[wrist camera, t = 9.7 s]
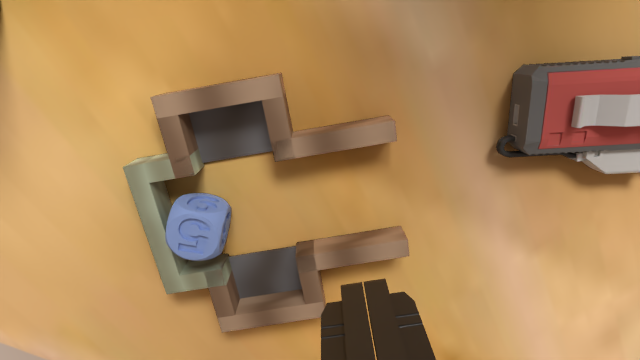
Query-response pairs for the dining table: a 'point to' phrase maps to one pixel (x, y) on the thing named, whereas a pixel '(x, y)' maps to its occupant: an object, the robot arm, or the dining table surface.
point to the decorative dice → (198, 226)
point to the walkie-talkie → (578, 113)
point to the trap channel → (241, 140)
